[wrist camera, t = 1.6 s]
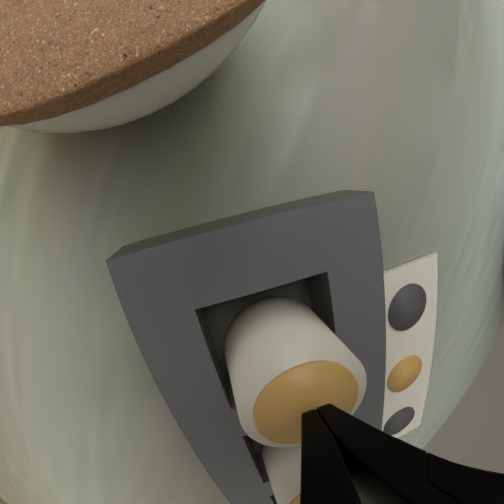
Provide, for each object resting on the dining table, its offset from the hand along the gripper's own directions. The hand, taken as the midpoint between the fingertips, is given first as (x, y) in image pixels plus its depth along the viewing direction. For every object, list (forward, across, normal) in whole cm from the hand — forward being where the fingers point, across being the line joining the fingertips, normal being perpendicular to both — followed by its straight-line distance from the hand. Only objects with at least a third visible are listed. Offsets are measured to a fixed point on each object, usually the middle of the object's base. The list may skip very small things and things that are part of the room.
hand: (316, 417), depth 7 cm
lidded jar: (+7, +3, -14) cm, 16 cm away
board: (+7, 0, +7) cm, 10 cm away
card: (+7, -8, +7) cm, 12 cm away
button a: (+5, 0, 0) cm, 5 cm away
